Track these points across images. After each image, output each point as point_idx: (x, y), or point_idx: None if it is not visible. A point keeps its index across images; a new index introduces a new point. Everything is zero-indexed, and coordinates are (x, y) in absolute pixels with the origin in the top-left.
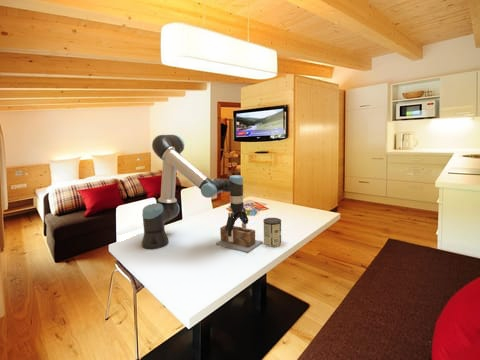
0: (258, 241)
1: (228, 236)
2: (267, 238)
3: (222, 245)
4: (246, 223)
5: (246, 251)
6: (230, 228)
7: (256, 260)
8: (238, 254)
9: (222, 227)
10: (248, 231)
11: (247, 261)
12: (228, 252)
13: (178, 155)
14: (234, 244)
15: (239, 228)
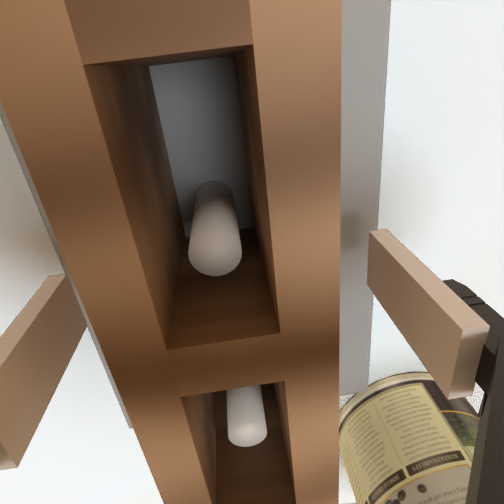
0: (351, 372)
1: (15, 318)
2: (355, 487)
3: (26, 167)
4: (482, 402)
5: (127, 416)
6: (257, 142)
7: (98, 495)
8: (57, 388)
9: (31, 30)
10: (289, 459)
11: (40, 477)
12: (3, 314)
13: None
14: None
15: (271, 373)
